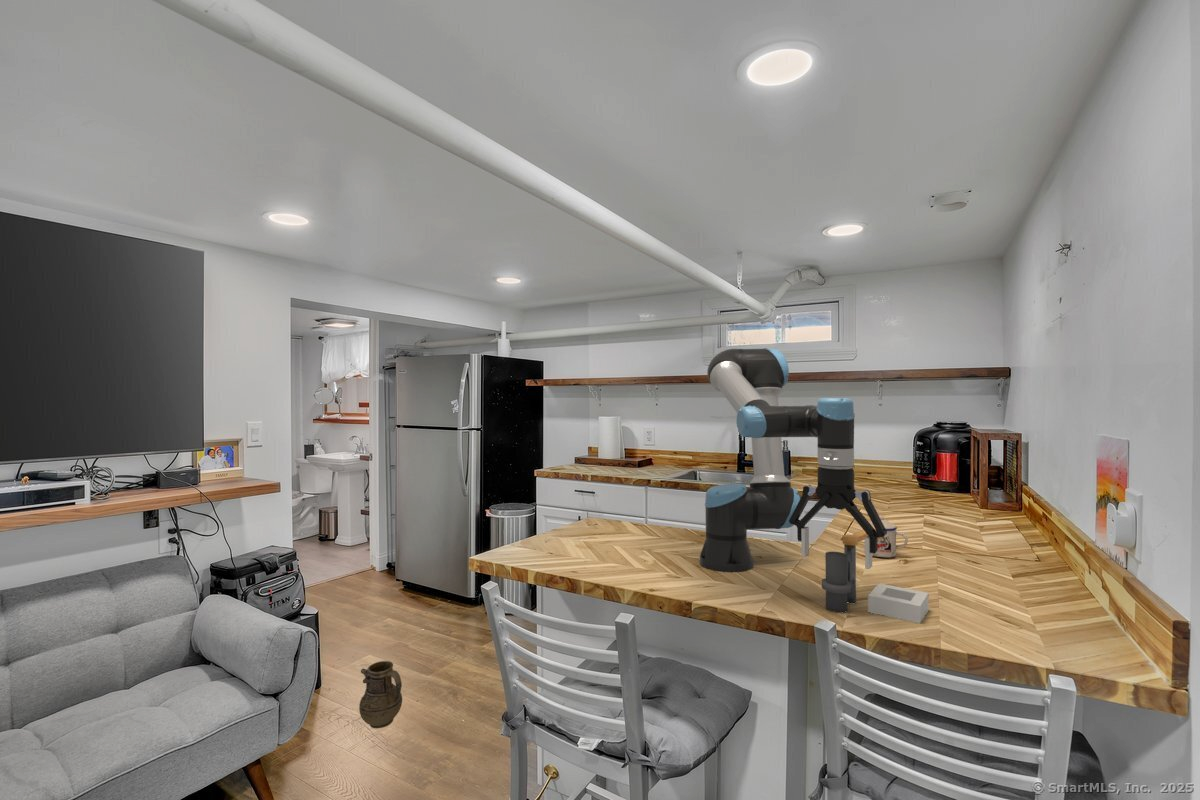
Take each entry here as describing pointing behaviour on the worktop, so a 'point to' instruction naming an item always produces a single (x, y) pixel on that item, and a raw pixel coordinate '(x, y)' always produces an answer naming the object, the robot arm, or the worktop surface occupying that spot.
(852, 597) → the clip post
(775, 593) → the worktop surface
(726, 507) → the robot arm
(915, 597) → the socket block
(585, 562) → the worktop surface
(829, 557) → the plug
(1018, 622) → the worktop surface
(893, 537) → the teacup with lid
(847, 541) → the clip
